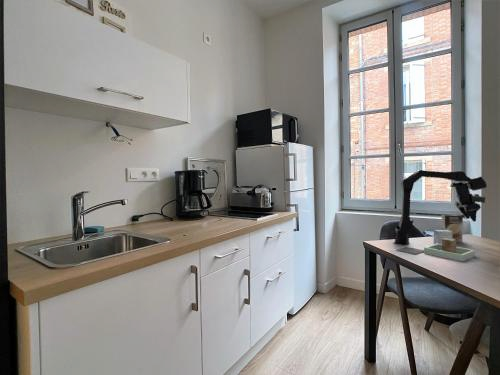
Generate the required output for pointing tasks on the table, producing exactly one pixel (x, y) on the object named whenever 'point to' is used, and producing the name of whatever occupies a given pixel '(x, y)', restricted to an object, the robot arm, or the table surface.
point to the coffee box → (453, 225)
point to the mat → (410, 250)
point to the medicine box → (441, 235)
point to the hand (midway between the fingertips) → (471, 219)
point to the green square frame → (462, 255)
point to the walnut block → (449, 245)
